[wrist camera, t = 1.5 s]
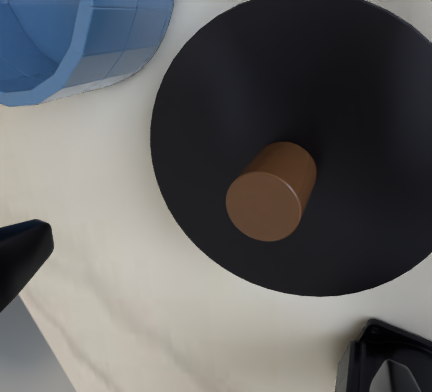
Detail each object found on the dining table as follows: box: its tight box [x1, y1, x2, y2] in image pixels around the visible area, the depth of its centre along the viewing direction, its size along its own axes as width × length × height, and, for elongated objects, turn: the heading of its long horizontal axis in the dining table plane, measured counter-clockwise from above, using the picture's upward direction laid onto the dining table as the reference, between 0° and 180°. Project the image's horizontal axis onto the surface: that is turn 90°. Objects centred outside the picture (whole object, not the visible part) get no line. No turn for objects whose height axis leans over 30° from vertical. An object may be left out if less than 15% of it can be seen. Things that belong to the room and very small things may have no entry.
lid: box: [150, 0, 432, 297], centre depth 14 cm, size 14×14×5 cm
